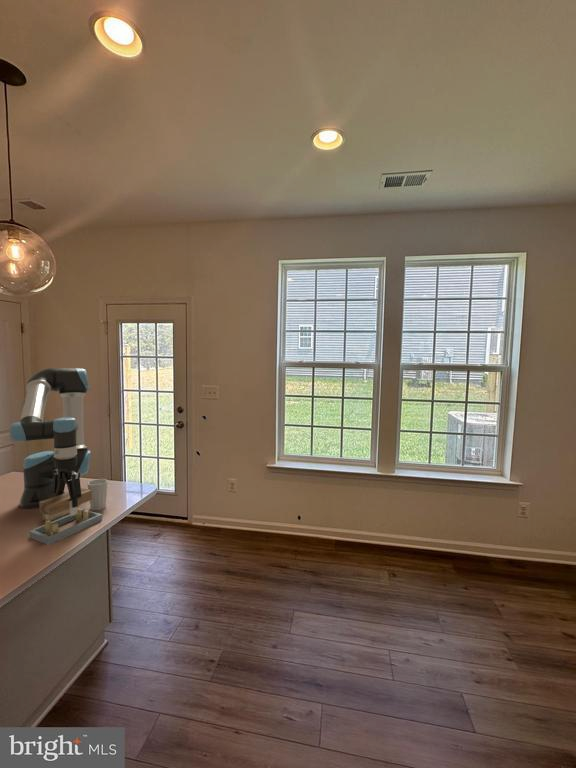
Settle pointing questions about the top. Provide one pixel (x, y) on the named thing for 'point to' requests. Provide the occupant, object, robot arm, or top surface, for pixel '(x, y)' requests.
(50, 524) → the frame
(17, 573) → the top surface
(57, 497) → the board
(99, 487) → the cup
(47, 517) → the block
